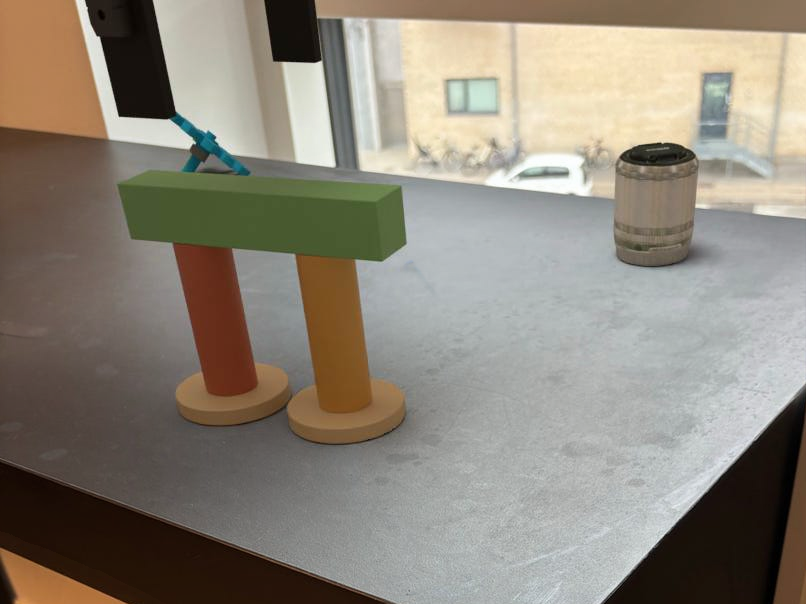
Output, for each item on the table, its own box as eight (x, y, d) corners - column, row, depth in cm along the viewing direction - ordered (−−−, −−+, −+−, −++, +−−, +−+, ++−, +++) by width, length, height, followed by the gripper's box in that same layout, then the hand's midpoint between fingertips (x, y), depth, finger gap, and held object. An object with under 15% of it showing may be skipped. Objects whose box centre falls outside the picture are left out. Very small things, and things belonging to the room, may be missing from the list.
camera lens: (600, 248, 83) (603, 144, 78) (671, 238, 84) (678, 134, 79) (630, 272, 78) (635, 163, 73) (705, 261, 79) (714, 152, 74)
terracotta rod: (155, 417, 62) (111, 251, 56) (219, 371, 67) (185, 214, 61) (252, 432, 60) (217, 261, 54) (311, 384, 65) (285, 222, 59)
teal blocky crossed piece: (257, 171, 101) (168, 99, 96) (224, 221, 103) (134, 153, 98) (250, 162, 110) (168, 96, 106) (220, 208, 112) (138, 145, 107)
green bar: (130, 239, 57) (116, 183, 56) (162, 223, 60) (149, 169, 58) (382, 262, 52) (375, 201, 50) (407, 244, 54) (402, 184, 52)
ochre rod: (267, 435, 60) (233, 262, 53) (325, 386, 65) (300, 223, 58) (373, 451, 57) (350, 273, 51) (424, 399, 62) (410, 231, 56)
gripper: (-54, -677, 28) (138, 152, 41) (361, -494, 46) (402, 44, 59) (-244, -626, 30) (-4, 142, 44) (221, -471, 48) (291, 41, 61)
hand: (229, 87), depth 51 cm, fingers open, 13 cm apart
